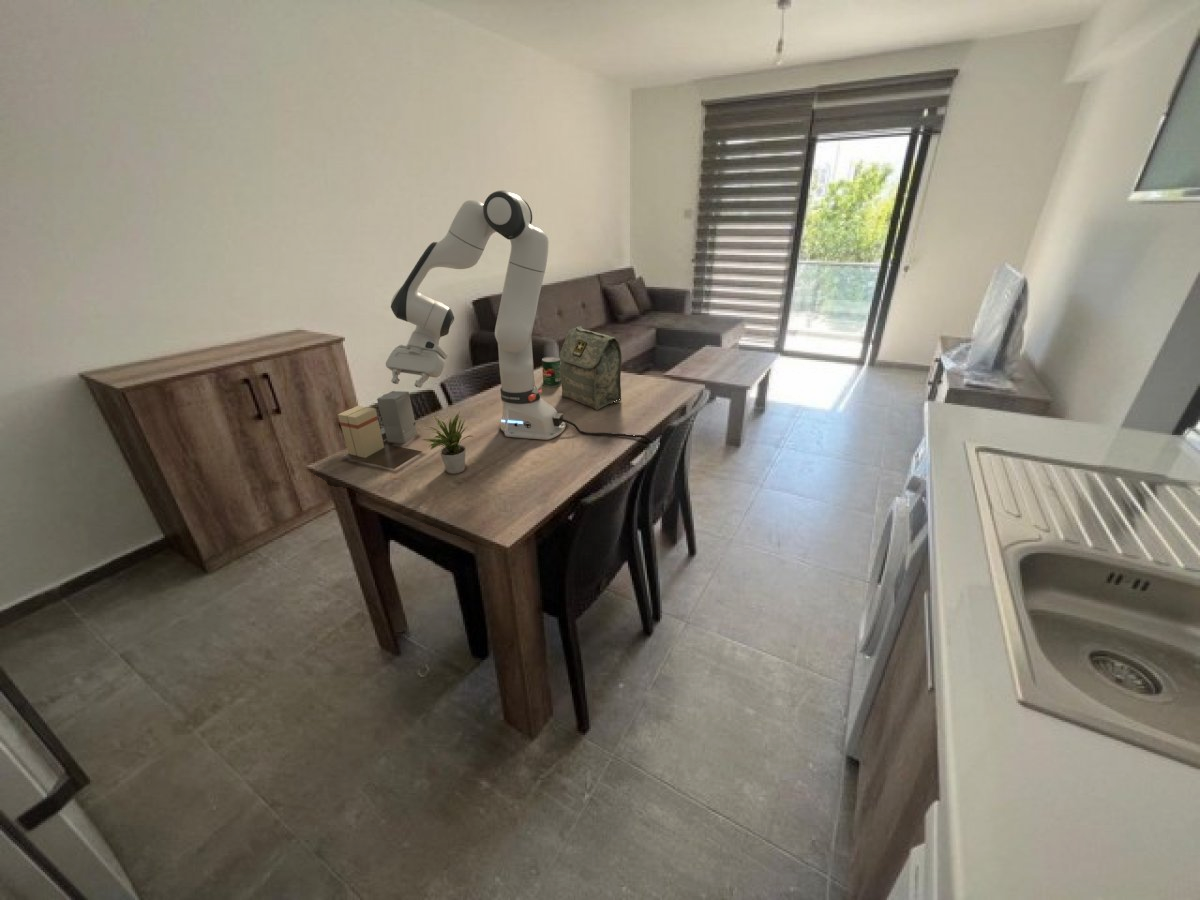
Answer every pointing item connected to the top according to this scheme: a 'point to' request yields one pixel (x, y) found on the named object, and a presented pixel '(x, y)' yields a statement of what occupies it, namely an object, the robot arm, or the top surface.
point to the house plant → (450, 445)
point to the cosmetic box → (397, 416)
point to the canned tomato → (551, 371)
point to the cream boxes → (361, 431)
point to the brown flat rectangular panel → (388, 456)
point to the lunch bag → (591, 368)
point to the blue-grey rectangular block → (383, 433)
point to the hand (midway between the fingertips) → (405, 384)
